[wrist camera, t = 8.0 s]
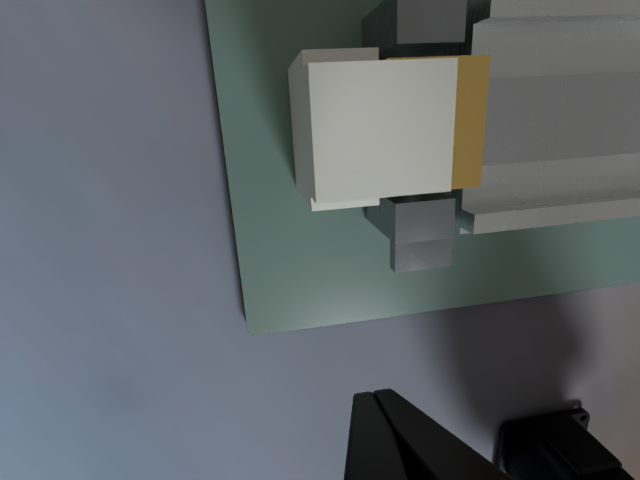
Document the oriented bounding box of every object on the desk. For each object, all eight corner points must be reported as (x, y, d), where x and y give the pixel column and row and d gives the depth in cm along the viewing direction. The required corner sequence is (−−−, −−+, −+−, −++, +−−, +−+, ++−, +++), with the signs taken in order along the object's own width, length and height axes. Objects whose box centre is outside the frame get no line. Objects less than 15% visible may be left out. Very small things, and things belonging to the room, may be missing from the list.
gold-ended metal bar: (746, 154, 18) (799, 157, 16) (371, 187, 15) (387, 196, 13) (776, 50, 16) (837, 42, 15) (370, 65, 14) (387, 57, 12)
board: (660, 271, 24) (677, 277, 23) (248, 326, 20) (248, 336, 20) (756, -119, 18) (784, -133, 17) (188, -142, 14) (183, -161, 13)
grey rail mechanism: (672, 208, 22) (804, 236, 16) (365, 240, 19) (407, 286, 14) (726, -16, 18) (914, -69, 13) (360, -13, 16) (415, -79, 10)
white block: (389, 179, 18) (450, 206, 13) (296, 187, 17) (317, 219, 12) (390, 65, 17) (460, 38, 11) (287, 69, 16) (306, 42, 10)
